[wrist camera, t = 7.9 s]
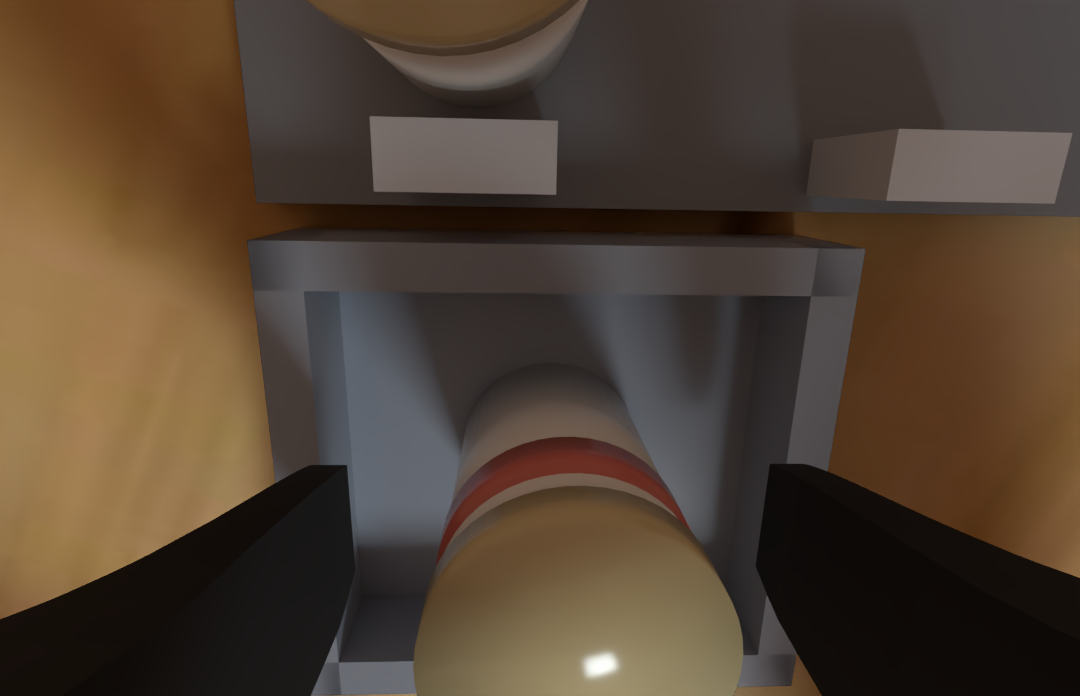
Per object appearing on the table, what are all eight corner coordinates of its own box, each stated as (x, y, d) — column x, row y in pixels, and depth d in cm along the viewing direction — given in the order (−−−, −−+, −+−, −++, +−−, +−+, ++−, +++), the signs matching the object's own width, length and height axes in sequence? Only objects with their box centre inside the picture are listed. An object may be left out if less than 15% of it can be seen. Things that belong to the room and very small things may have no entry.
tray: (745, 602, 15) (791, 686, 12) (337, 607, 14) (301, 695, 12) (796, 234, 12) (865, 249, 10) (301, 227, 12) (247, 240, 9)
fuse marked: (628, 524, 13) (718, 793, 7) (457, 520, 13) (412, 793, 7) (646, 362, 12) (768, 528, 6) (461, 353, 12) (413, 518, 6)
